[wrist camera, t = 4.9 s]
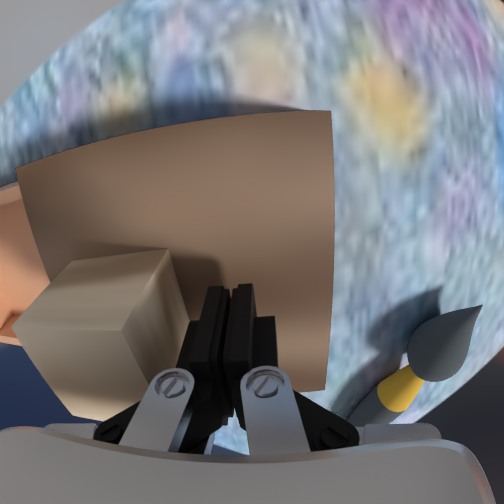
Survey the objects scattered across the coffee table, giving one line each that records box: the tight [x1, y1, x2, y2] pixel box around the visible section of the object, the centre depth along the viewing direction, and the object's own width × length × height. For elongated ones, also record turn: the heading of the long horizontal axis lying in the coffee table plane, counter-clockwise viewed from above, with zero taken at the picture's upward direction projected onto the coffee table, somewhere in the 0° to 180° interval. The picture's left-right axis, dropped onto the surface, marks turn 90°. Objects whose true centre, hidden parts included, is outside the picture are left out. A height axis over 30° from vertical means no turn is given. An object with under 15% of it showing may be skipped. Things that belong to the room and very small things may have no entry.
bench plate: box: [15, 110, 335, 393], centre depth 16 cm, size 14×14×6 cm
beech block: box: [11, 249, 190, 421], centre depth 11 cm, size 5×5×5 cm
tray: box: [0, 181, 50, 346], centre depth 18 cm, size 12×13×4 cm
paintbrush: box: [347, 305, 482, 427], centre depth 22 cm, size 20×5×5 cm, turn 167°
